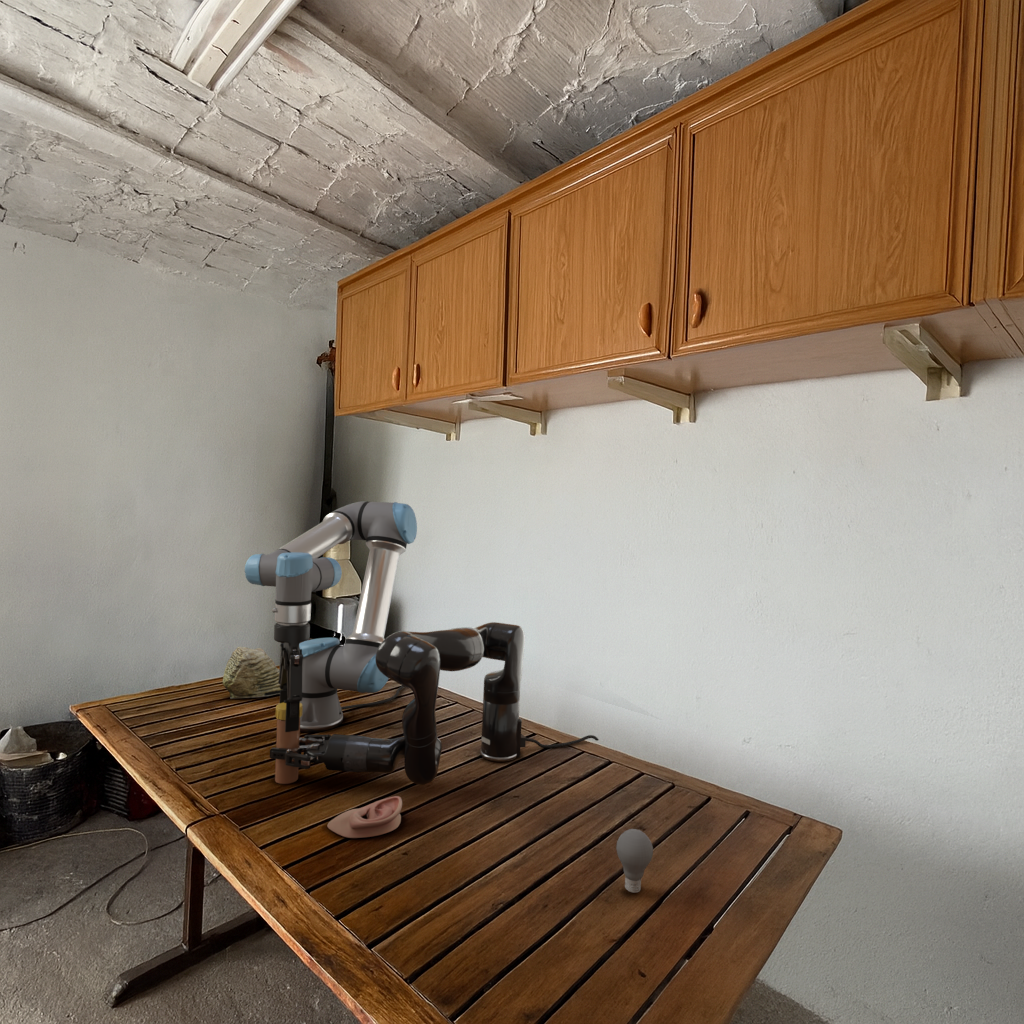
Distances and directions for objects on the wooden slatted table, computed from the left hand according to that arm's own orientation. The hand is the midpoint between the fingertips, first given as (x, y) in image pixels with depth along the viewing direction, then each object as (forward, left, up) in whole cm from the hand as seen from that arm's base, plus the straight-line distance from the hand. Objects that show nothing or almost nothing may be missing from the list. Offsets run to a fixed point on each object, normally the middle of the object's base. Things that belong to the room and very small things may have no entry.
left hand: (288, 724), depth 141 cm
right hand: (+2, -2, -5) cm, 6 cm away
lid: (0, 0, +4) cm, 4 cm away
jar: (0, 0, -12) cm, 12 cm away
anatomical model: (+1, +28, -12) cm, 31 cm away
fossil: (-25, -59, -12) cm, 65 cm away
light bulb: (-16, +77, -12) cm, 80 cm away
